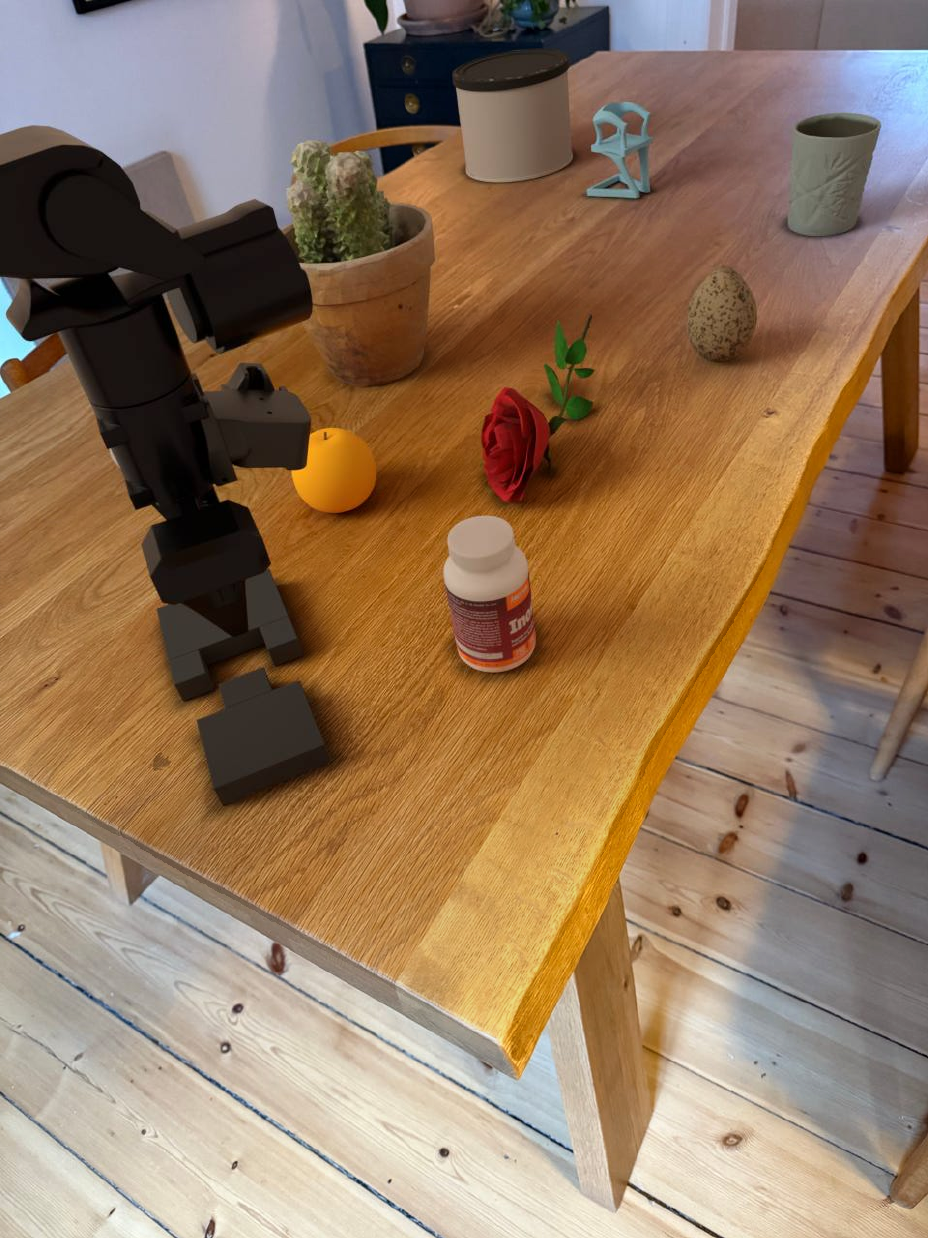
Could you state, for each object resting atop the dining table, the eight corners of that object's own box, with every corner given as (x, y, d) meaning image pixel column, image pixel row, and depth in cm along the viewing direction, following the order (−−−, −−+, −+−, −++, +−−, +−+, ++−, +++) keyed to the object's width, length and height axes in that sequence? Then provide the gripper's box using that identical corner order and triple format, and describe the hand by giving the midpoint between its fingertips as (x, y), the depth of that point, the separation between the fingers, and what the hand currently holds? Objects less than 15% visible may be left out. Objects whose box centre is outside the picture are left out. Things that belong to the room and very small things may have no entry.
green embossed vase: (776, 214, 123) (785, 118, 114) (852, 204, 121) (867, 106, 113) (792, 242, 115) (804, 141, 107) (874, 232, 114) (892, 130, 106)
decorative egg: (754, 373, 93) (762, 280, 87) (684, 375, 95) (687, 283, 88) (752, 340, 98) (760, 250, 92) (685, 342, 100) (688, 254, 93)
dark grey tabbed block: (222, 806, 62) (213, 789, 61) (199, 711, 69) (190, 694, 68) (331, 761, 63) (324, 744, 62) (297, 673, 70) (290, 656, 69)
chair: (627, 204, 133) (626, 115, 125) (585, 195, 138) (582, 109, 130) (660, 186, 136) (661, 99, 128) (618, 179, 141) (617, 94, 133)
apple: (292, 526, 85) (270, 460, 80) (313, 478, 91) (294, 413, 85) (373, 524, 83) (356, 456, 78) (390, 475, 89) (374, 409, 84)
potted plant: (272, 376, 108) (202, 155, 91) (385, 314, 116) (340, 101, 99) (369, 419, 97) (311, 179, 80) (485, 348, 106) (455, 116, 89)
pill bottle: (530, 678, 67) (516, 566, 59) (450, 673, 68) (426, 563, 61) (542, 620, 71) (530, 509, 63) (466, 617, 72) (446, 508, 65)
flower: (560, 257, 94) (475, 432, 76) (640, 297, 94) (575, 480, 76) (529, 325, 101) (445, 500, 83) (604, 362, 101) (537, 543, 83)
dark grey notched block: (183, 701, 70) (173, 684, 69) (164, 625, 77) (156, 608, 76) (304, 655, 72) (297, 638, 70) (275, 585, 79) (269, 567, 78)
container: (525, 188, 144) (516, 83, 134) (442, 175, 155) (428, 77, 144) (596, 150, 153) (592, 49, 143) (513, 140, 163) (504, 45, 153)
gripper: (324, 408, 45) (382, 632, 55) (242, 287, 58) (302, 486, 68) (102, 480, 42) (207, 700, 53) (69, 337, 55) (159, 535, 66)
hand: (225, 592), depth 60 cm, fingers open, 9 cm apart
